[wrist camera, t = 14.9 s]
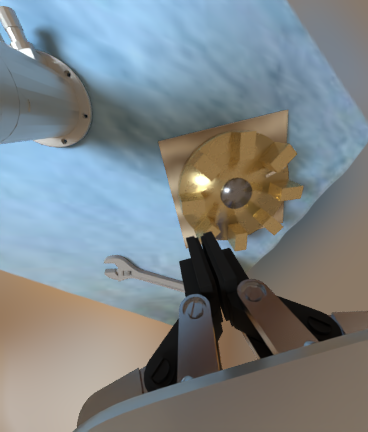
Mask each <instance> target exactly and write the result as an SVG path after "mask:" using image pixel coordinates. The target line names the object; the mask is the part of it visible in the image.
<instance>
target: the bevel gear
mask: <svg viewBox="0 0 368 432" xmlns="http://www.w3.org/2000/svg"><path fill="white" fill-rule="evenodd" d="M296 155H297V153H296V151H295V150H294V149H293V148H292V146H291V145H290V144H287V143H280V142H274V141H273V140H271V139H270V138H268V137H267V136H265V135H263V134H260V133H257V132H256V131H250V130H232V131H227V132H223V133H220V134H217V135H215V136H213V137H211V138H209V139H207V140H206V141H204V142H203V143H202V144H200V145H199V146H198V147H197V148H196V149H195V150H194V151H193V152H192V153H191V155H190V156H189V158H188V159H187V160H186V162H185V164H184V166H183V168H182V171H181V174H180V177H179V181H178V199H179V204H180V208H181V211H182V214H183V215H184V217H185V219H186V221H187V222H188V223H189V225H190V226H191V227H192V228H193V229H194V231H195V234H196V237H198V238H199V241H200V242H201V237H200V236H203V233H206V232H210V231H212V233H213V235H214V237H215V238H216V239H217V240H228V241H229V243H230V244H231V246H232V248H233V249H234V251H240V250H246V246H247V235H249V234H251V233H253V232H255V231H257V230H258V229H260V228H261V227H262V226H264V227H265V228H266V229H267V230H268V231H270V232H271V233H272V234H273V235H275V234H276V233H277V232H279V231H280V230H281V229H282V228H283V226H282V225H281V224H280V223H279V222H278V221H277V220H275V219H274V218H273V216H274V214H275V213H276V212H277V210H278V209H279V207H280V206H281V204H282V202H283V201H286V200H293V199H300V198H301V195H302V190H303V185H300V184H298V183H295V182H293V181H290V180H289V172H288V165H287V164H288V163H289V162H290V161H291V160H292V159H293V158H294V157H295V156H296ZM201 243H202V242H201Z"/></svg>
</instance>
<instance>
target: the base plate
mask: <svg viewBox="0 0 368 432" xmlns="http://www.w3.org/2000/svg"><path fill="white" fill-rule="evenodd" d="M287 123H288V110H283V111H279V112H275V113H271V114H266V115H262V116H258V117H254V118H250V119H246V120H242V121H238V122H234V123H230V124H226V125H222V126H218V127H214V128H210V129H206V130H202V131H198V132H194V133H190V134H185V135H181V136H177V137H173V138H169V139H165V140H161V141H158V143H159V147H160V151H161V155H162V158H163V162H164V166H165V170H166V174H167V178H168V181H169V185H170V189H171V193H172V197H173V200H174V204H175V208H176V212H177V216H178V219H179V223H180V227H181V231H182V235H183V238H184V242H185V246H186V248H188V244H187V241H186V238H187V237H191V236H194V237H195V238H196V234H195V231H194V229H193V228H192V227H191V226H190V225H189V223H188V222H187V221H186V219H185V217H184V215H183V214H182V211H181V208H180V204H179V199H178V181H179V177H180V174H181V171H182V168H183V166H184V164H185V162H186V160H187V159H188V158H189V156H190V155H191V153H192V152H193V151H194V150H195V149H196V148H197V147H198V146H199V145H200V144H202V143H203V142H204V141H206V140H207V139H209V138H211V137H213V136H215V135H217V134H220V133H223V132H227V131H232V130H250V131H256V132H257V133H260V134H263V135H265V136H267V137H268V138H270V139H271V140H273V141H274V142H280V143H287ZM283 207H284V201H283V202H282V204H281V206H280V207H279V209H278V210H277V212H276V213H275V214H274V216H273V218H274V219H275V220H277V221H278V222H279V223H283ZM261 228H265V227H264V226H262V227H261ZM261 228H260V229H261ZM216 240H217V239H216ZM200 244H202V243H201V242H200Z"/></svg>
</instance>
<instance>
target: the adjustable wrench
mask: <svg viewBox="0 0 368 432" xmlns="http://www.w3.org/2000/svg"><path fill="white" fill-rule="evenodd" d="M104 263H115V265H116V266H117V267H118V269H117V270H116V269H106V270H105V275H106V276H108V277H109V278H112V279H115V280H119V281H121V280H124V279H128V278H135V279H139V280H143V281H146V282H150V283H153V284H157V285H160V286H163V287H167V288H170V289H174V290H177V291H181V292H184V293H185V290H184V285H183V282H182V281H179V280H175V279H172V278H168V277H165V276H161V275H158V274H155V273H151V272H148V271H144V270H141V269H138V268H137V267H135V266H134V265H132V264H131V263H130V262H129V261H128V260H127V259H125V258H124V257H122V256H120V255H111V256H108V257H106V258H105V261H104ZM131 271H132V272H131Z"/></svg>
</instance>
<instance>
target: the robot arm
mask: <svg viewBox="0 0 368 432" xmlns="http://www.w3.org/2000/svg"><path fill="white" fill-rule="evenodd" d="M0 21H1V23H2V25H3V27H4V29H5V31H6V32H7V33H8V35H9V37H10V39H11V41H12V43H11V44H10V45H8V44H6V43H5V41H4V40H3V38H2V36H1V34H0V144H6V143H14V142H22V141H30V140H33V141H35V142H37V143H39V144H42V145H46V146H49V147H66V146H70V145H73V144H75V143H77V142H79V141H80V140H81V139H82V138H83V137H84V136H85V135H86V134H87V132H88V130H89V128H90V125H91V121H92V107H91V102H90V98H89V95H88V93H87V91H86V89H85V86H84V85H83V83H82V82H81V80H80V79H79V77H78V76H77V75H76V74H75V73H74V72H73V71H72V69H70V68H69V67H68V66H67V65H66V64H64V63H63V62H62V61H60V60H59V59H57V58H56V57H54V56H52V55H50V54H48V53H45V52H41V51H38V50H35V49H34V47H33V45H32V43H30V42H28V41H27V39H26V37H25V35H24V32H23V28H22V26H21V24H20V22H19V20H18V18H17V15H16V13H15V11H14V10H13V9H12V8H9V7H5V6H0ZM69 73H70V74H71V76H70V77H69V76H68V74H69ZM85 115H87V116H88V118H86V117H85ZM65 139H66V140H67V143H66V142H65ZM200 237H201V242H202V246H201V244H200V241H199V238H198V237H196V238H195V237H194V236H191V237H187V238H186V241H187V244H188V248H189V252H190V256H191V258H190V259H186V260H182V261H179V263H180V268H181V274H182V279H183V285H184V290H185V296H186V298H185V299H184V300H183V301H182V302H181V304H180V308H179V319H178V320H177V322H176V323H175V324H174V326H173V327H172V329H171V330H170V332H169V333H168V335H167V336H166V337H165V339H164V340H163V341H162V343H161V344H160V346H159V347H158V349H157V350H156V351H155V353H154V354H153V356H152V357H151V359H150V360H149V362H148V364H147V365H146V366H145V367H143V368H142V369H140V370H139V368H137V369H135V370H134V371H132V372H130V373H129V374H127V375H125V376H123V377H122V378H120V379H118V380H116V381H114V382H113V383H111V384H109V385H108V386H106V387H104V388H102V389H101V390H99V391H97V392H95V393H94V394H93V395H92V396H90V397H89V398H88V400H87V401H86V402H85V404H84V405H83V407H82V409H81V411H80V413H79V418H78V422H77V428H76V429H75V430H74V431H73V432H368V311H356V312H333V313H332V315H327V314H324V313H322V312H320V311H317V310H315V309H312V308H309V307H307V306H304V305H301V304H298V303H296V302H293V301H290V300H287V299H284V298H282V297H279V296H276V295H275V294H274V293H273V292H272V291H271V289H270V288H269V287H268V286H267V285H266V284H264V283H263V282H261V281H259V280H256V279H249V278H248V277H247V275H246V273H245V272H244V270H243V268H242V267H241V265H240V264H239V262H238V260H237V259H236V257H235V255H234V254H233V252H232V251H231V249H230V248H227V249H223V250H221V248H220V246H219V244H218V242H217V240H216V238H215V237H214V235H213V233H212V231H210V232H206V233H203V236H200ZM202 247H203V249H202ZM220 306H221V308H220ZM221 309H222V312H223V314H224V317H225V319H226V321H228V320H230V323H231V325H232V326H234V327H235V328H236V329H238V330H240V331H241V332H242V333H243V336H244V337H245V339H246V341H247V343H248V345H249V346H250V348H251V350H252V351H253V353H254V355H255V356H256V358H257V360H255V361H252V362H248V363H245V364H242V365H238V366H235V367H231V368H228V369H225V370H223V369H222V363H221V356H220V350H219V343H218V340H219V338H220V336H221V334H222V332H223V330H222V325H221V322H223V318H222V313H221Z"/></svg>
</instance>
